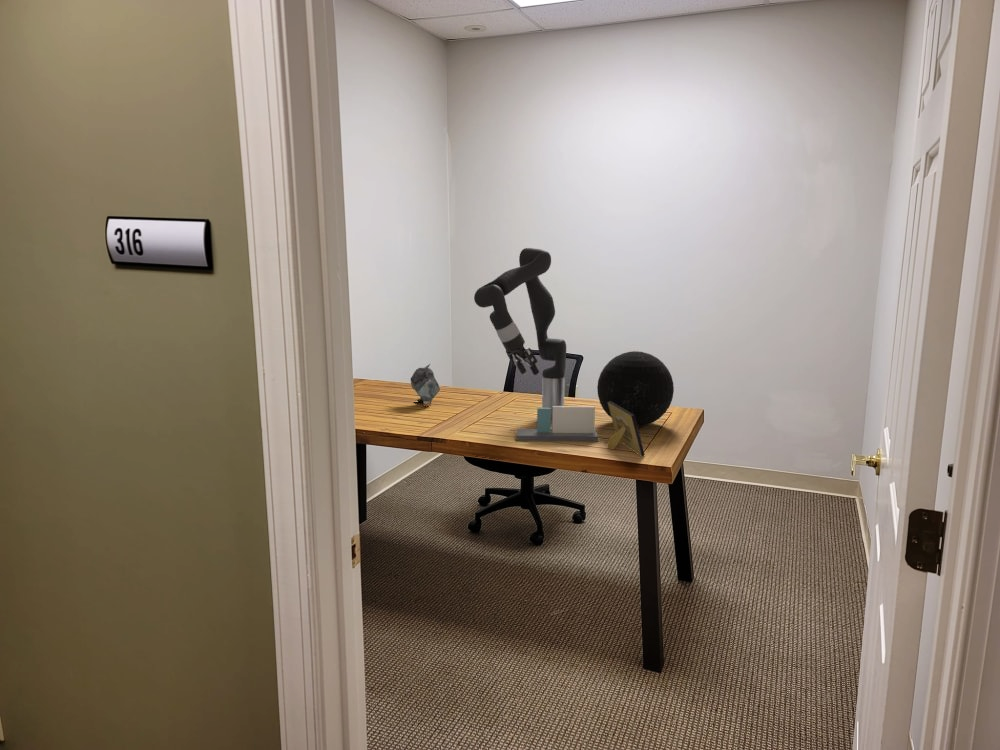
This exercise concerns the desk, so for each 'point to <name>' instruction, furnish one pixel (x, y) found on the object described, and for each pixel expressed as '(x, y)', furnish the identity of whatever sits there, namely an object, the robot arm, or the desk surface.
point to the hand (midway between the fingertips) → (530, 373)
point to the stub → (543, 419)
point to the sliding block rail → (565, 426)
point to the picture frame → (624, 429)
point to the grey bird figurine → (425, 385)
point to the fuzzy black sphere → (636, 386)
